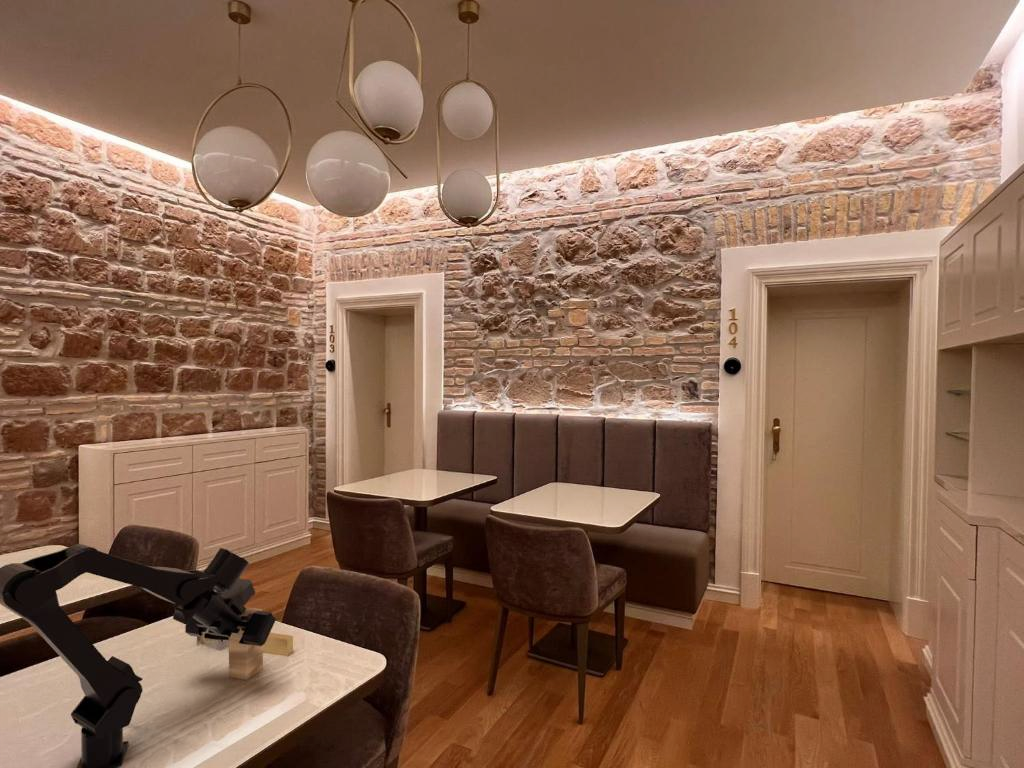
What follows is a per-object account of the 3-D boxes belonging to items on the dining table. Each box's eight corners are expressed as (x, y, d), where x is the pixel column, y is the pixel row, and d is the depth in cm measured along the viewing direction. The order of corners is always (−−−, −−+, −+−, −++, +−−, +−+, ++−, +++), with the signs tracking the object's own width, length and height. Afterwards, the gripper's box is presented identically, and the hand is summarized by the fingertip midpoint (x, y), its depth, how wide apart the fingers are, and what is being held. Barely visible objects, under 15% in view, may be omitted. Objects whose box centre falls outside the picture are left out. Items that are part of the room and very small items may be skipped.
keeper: (246, 680, 120) (246, 619, 119) (228, 677, 121) (227, 616, 121) (263, 667, 125) (263, 609, 124) (245, 665, 126) (245, 607, 126)
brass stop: (287, 656, 130) (287, 639, 130) (257, 652, 132) (257, 635, 132) (292, 652, 132) (292, 635, 132) (263, 648, 134) (263, 631, 134)
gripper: (269, 575, 116) (303, 607, 127) (195, 567, 121) (233, 598, 132) (242, 630, 109) (280, 659, 119) (164, 619, 113) (207, 648, 124)
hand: (250, 639), depth 124 cm, fingers closed on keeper, 5 cm apart
